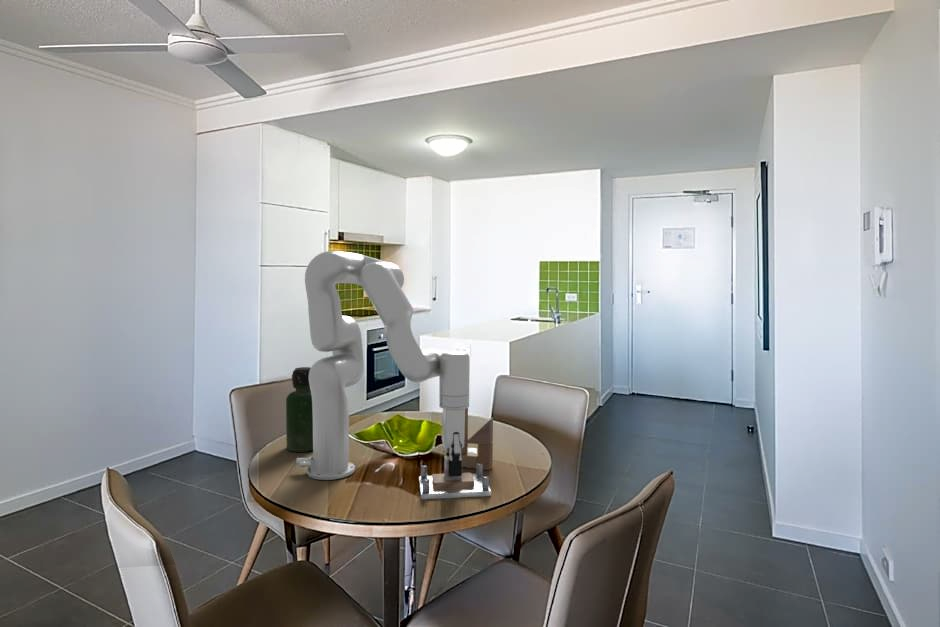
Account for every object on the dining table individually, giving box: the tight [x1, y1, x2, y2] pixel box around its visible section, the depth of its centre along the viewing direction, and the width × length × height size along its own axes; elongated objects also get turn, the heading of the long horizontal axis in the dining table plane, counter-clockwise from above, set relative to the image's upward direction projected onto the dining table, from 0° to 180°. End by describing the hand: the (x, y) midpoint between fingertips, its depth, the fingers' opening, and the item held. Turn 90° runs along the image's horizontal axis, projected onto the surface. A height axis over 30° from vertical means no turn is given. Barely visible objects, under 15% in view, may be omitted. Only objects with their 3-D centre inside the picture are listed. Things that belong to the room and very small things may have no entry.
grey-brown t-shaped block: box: [431, 455, 474, 489], centre depth 133 cm, size 10×6×6 cm, turn 98°
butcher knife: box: [468, 447, 478, 454], centre depth 157 cm, size 5×15×1 cm, turn 177°
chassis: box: [418, 463, 492, 500], centre depth 133 cm, size 17×12×4 cm
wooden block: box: [461, 407, 494, 471], centre depth 149 cm, size 4×11×18 cm, turn 75°
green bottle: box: [285, 366, 313, 453], centre depth 165 cm, size 10×10×25 cm
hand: (453, 471), depth 133 cm, fingers open, 5 cm apart
